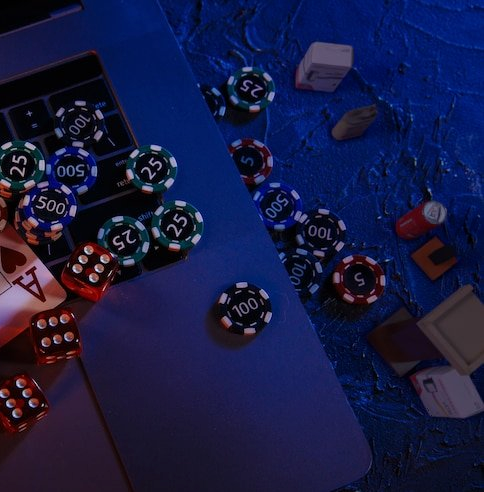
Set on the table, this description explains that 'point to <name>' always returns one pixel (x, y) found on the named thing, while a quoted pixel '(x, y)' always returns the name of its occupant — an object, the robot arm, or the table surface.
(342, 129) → the tan tapered block
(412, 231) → the beverage can
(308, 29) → the table surface
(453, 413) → the ink box
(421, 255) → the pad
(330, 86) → the ink box
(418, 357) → the stand
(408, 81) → the table surface
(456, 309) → the dock pad
